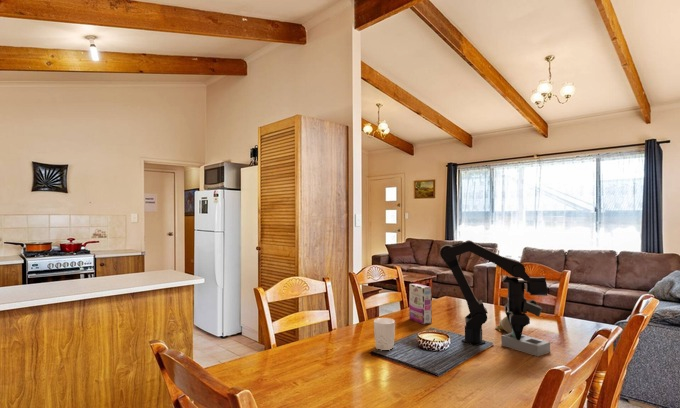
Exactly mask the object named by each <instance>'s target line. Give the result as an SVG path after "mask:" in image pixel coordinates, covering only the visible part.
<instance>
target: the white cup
mask: <svg viewBox="0 0 680 408" xmlns="http://www.w3.org/2000/svg"><path fill="white" fill-rule="evenodd" d="M395 320H396V319H393V318H389V317H380V318H379V317H377V318H375V319H374V320H373V330H374V331H373V333H374V341H375V342H374V344H375V345H374V346H375V349H376V350H378V349H381V350H380V351H382V350H389V351H391V350H390V349H392V348H393V349H394V346H395V345H394V344H395V336H396V335H395V333H396V329H395V328H396V321H395ZM393 349H392V350H393Z"/></svg>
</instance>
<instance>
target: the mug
mask: <svg viewBox="0 0 680 408" xmlns="http://www.w3.org/2000/svg"><path fill="white" fill-rule="evenodd" d="M494 329H495V330H497V331H498V330H504V331H505V332H506V333H507V334H509V333H512V328H511V325H510V323H509V321H508V318H507V316H506V315H505V316H504V317H503V318H501V320H499V322H498V325H496V326H495V327H494Z"/></svg>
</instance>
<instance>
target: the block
mask: <svg viewBox="0 0 680 408" xmlns="http://www.w3.org/2000/svg"><path fill="white" fill-rule="evenodd" d="M501 346H503V347H505V348H506V347H507V348H510V349H512V350H516V351H518V352H523V353H525V354H529V355H532V356H535V357H540V356H543V355H547V354H548V353H550V352H551V341H548V340H544V339H540V338H537V337H533V336H529V335H526V334H523V333H522V335H521V339H520V340H517V339H516V338H514V337H512V333H505V334H502V335H501Z"/></svg>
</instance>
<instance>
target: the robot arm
mask: <svg viewBox="0 0 680 408" xmlns="http://www.w3.org/2000/svg"><path fill="white" fill-rule="evenodd" d="M469 252H470V253H472V254H474V255H476V256H478V257H480V258H482V259H484V260H486V261H488V262H490V263H493V264H494V265H496V266H498V267H499V268H501V269H502V270H503V271H505V272H506V273H507V274H509V275H510V276H512V277H509V275H507V274H506V275H505V277H503V278H502V279H501V281H502V282H503V283H507V295H506V299H507V303H505V304H504V305H503V307H504V309H503V310H504V313H505V317H506V316H507V318H508V321H509V323H510V325H511V328H513V331H514V334H515V336H516V339H517V340H520V339H521V335H522V334H523V331H524V328H525V327H527V326H528V325H530V323H531V322H530V321H531V320H530V319H531V318H530V317H529V316H528V314H527V313H530V314H533V315H535V316H536V317H538V318H539V317H540V315H541V313H542V311H543V307H541V306H540V305H539V304H537V302H536V300H534V299H530V300H529V301H528V300H527V298H526V297H525V292H526V293H528V295H529V296H538V297H539V296H541V297H547V296H548V290H549V288H548V284H547V281H546V280H547V278H546V277H545V276H530V275H529V274H528V273H527V272H526V266H525V264H523V263H522V262H521V261H520V260H516V259H514V258H510V257H506V256H502V255H500V254H498V253H496V252H494V251H492V250H489V249H488V248H486V247H483V246H482V245H479V244H477V243H475V242H474V241H472V240H466V241H463V242H459V243H455V244H447V243H446V244H444V245H443V246H441V249H440V252H439V254H440V257H441V259H442V261H444V263H445V264H446V266H448V268H449V269H450V270H451V272H452V275H453V278H454V279H455V280H456V283H457V285H458V287H459V289H460V291H461V293H462V296H463V298H464V299H465V301H466V304H467V307H468V310H469V311H468V312H469V313H468V314H467V315H466V316H465V317H464V320H465V326H464V338H463V339H461V342H463V343H466V344H468V343H469V345H471V344H472V346H474V345H476V346H479V345H482V344H485V343H486V341H485V340H483V325H485V323H486V322H487V321H488V313H489V312H488V310H487V308H486V307H485V306H484V303H483V300H482V299H479V300H478V299H477V298H476V295H475V294H474V292H473V290H472V288H471V286H470V284H469V282H468V280H467V277H466V276H465V273H464V272H463V270H462V268H461V266H460V263H459V259H458V256H460V255H462V254H465V253H469ZM519 278H520V279H521V280H520V279H519Z"/></svg>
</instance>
